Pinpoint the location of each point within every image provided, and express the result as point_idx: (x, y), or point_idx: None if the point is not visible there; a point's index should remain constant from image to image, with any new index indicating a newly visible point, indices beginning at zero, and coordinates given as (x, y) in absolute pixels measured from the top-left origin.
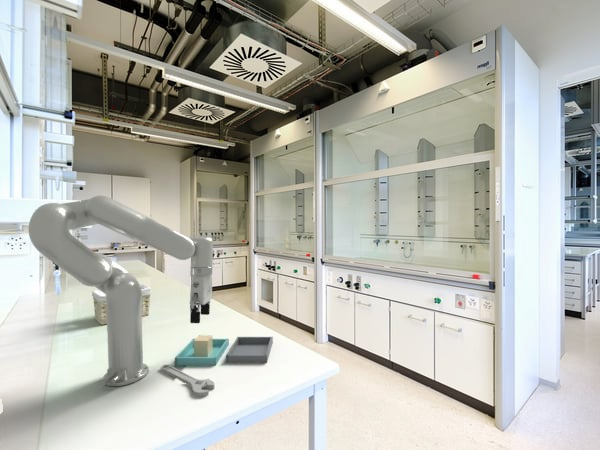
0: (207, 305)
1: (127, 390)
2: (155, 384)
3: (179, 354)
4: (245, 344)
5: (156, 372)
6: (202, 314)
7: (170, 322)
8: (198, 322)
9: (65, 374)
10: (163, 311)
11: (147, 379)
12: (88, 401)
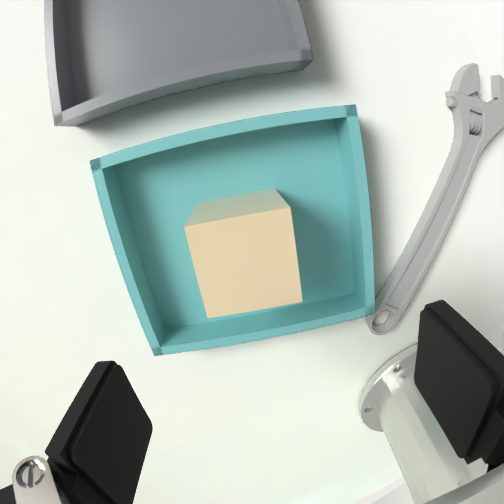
0: (85, 458)
1: (476, 326)
2: (462, 277)
3: (340, 316)
4: (84, 73)
5: (399, 328)
6: (141, 413)
7: None
8: (442, 309)
9: (385, 474)
10: None
11: None
12: None
